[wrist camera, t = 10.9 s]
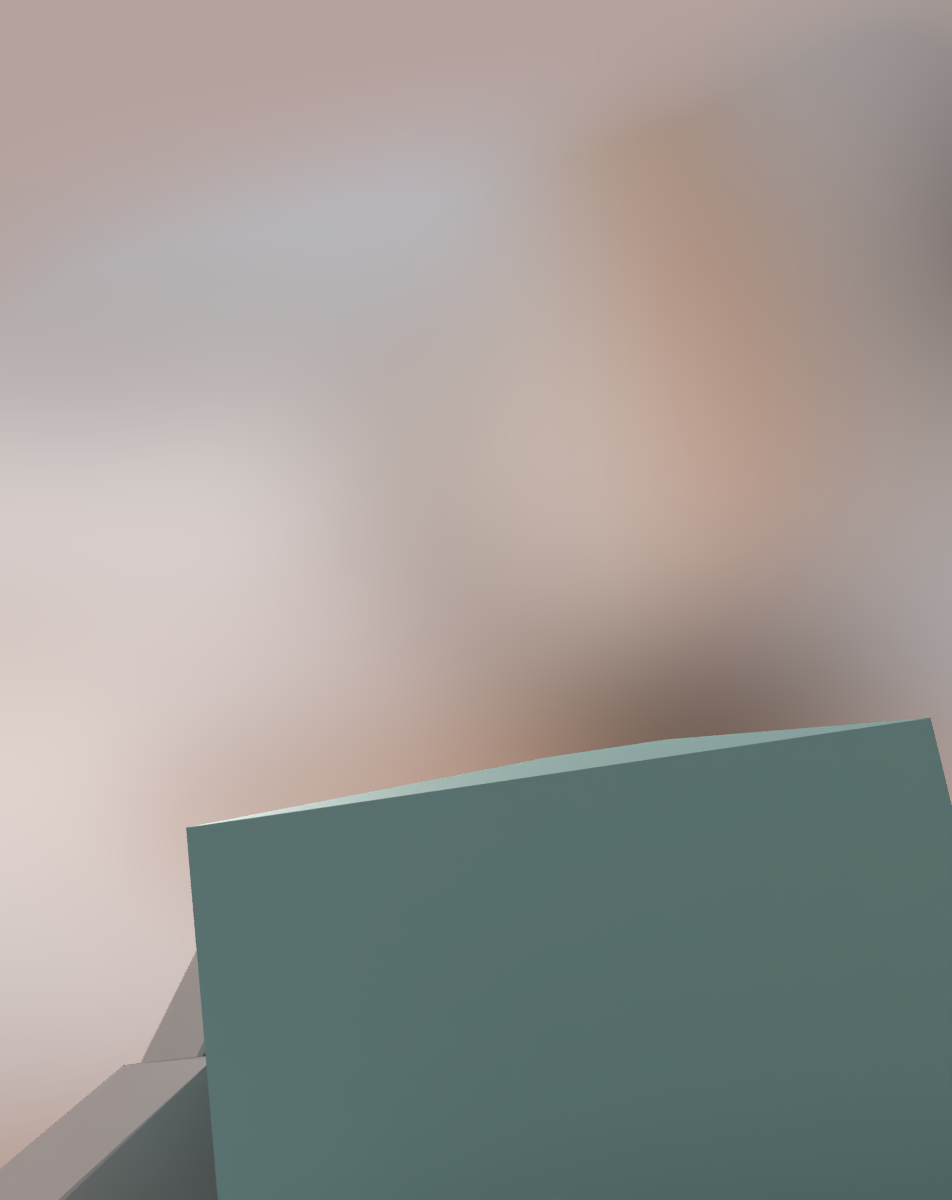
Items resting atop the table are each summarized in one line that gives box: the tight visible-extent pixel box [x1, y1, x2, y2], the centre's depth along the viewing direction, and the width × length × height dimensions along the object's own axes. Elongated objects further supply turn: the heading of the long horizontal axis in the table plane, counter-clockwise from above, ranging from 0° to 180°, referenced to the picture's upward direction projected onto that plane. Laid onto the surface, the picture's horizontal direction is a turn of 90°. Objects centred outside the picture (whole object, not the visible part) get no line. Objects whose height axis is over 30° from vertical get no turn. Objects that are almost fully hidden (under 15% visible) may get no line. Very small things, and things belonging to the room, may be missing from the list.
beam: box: [186, 718, 952, 1200], centre depth 17 cm, size 4×26×4 cm, turn 171°
